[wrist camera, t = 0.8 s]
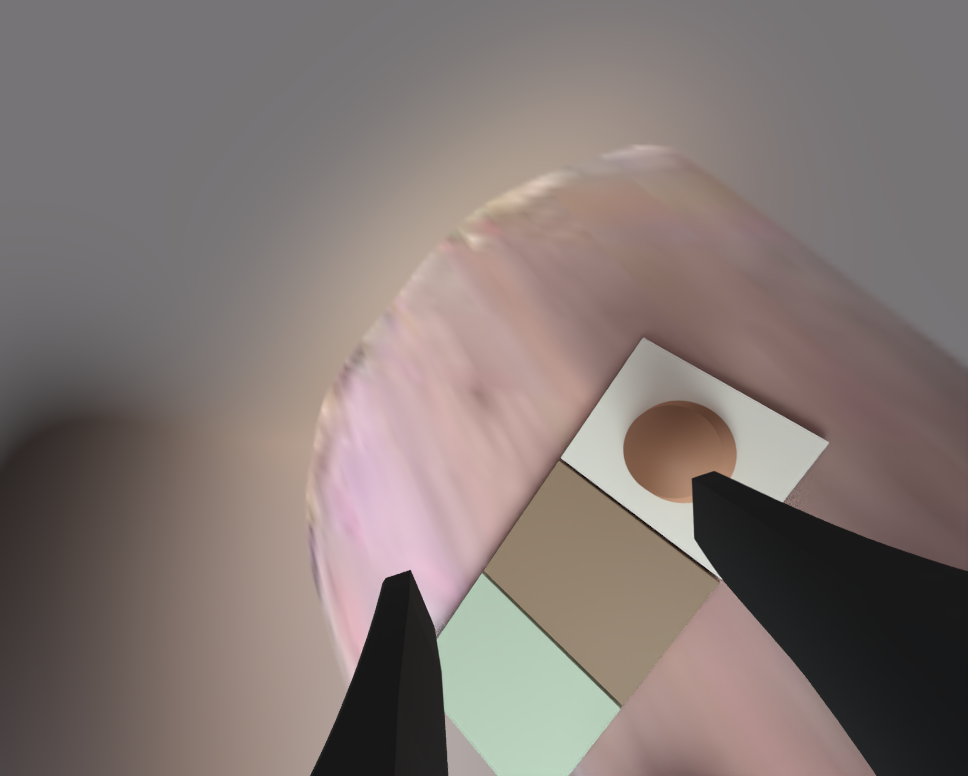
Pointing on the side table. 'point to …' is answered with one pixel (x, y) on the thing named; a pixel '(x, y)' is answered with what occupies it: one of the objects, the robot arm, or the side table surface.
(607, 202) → the side table surface
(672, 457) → the pawn
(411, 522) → the side table surface
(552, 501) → the board
